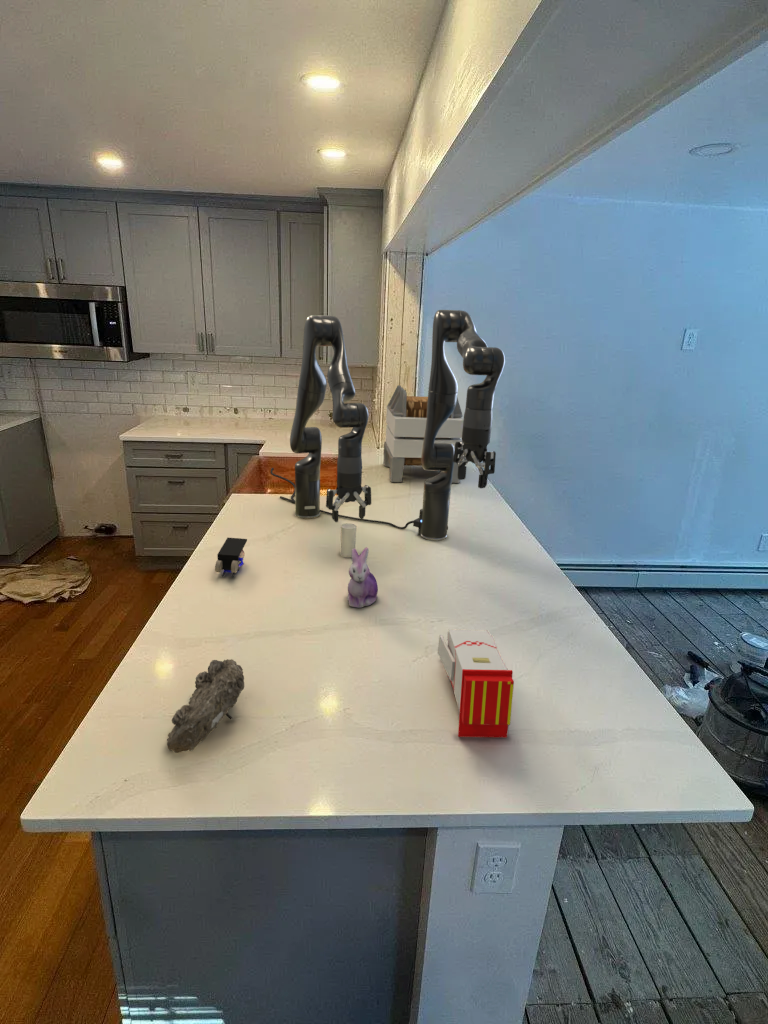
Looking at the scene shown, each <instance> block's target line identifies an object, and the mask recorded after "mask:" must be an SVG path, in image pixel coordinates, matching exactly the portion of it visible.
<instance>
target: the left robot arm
mask: <svg viewBox="0 0 768 1024" xmlns="http://www.w3.org/2000/svg"><path fill="white" fill-rule="evenodd" d="M302 343H303V345H302V357H301V359H302V360H301V365H300V366H301V367H300V373H299V379H298V385H297V395H296V403H295V404H296V406H295V412H294V417H293V421H292V425H291V430H290V435H289V446H290V449H291V452H292V453H294V454H307V456H305V457H304V458H302V459H300V460H298V461H296V462H295V464H294V482H292V480H290V479H288V478H286V477H284V476H281V475H278V474H275V473H274V470H275V469H274V467H271V468H270V475H272V476H273V477H276V478H279V479H281V480H283V481H286V482H287V483H289V484H291V485H292V486H293V493H291V496H290V499H291V500H294V501H295V503H294V509H295V510H294V511H295V512H294V515H295V517H297V518H300V519H305V520H306V519H315V518H318V517H320V516H321V512H320V510H321V465H322V446H323V438H322V437H323V436H322V432H321V429H320V428H318V427H316V426H307V424H308V422H309V420H310V419H311V418H312V417H313V415H314V414H316V412H318V410H319V409H320V408H321V406H322V405H323V403H324V401H325V399H326V392H327V385H328V386H329V391H330V393H331V399H332V415H331V416H332V421H333V423H334V425H335V426H336V427H338V428H340V429H345V428H346V429H347V428H351V430H350V431H349V432H348V433H346V434H342V435H340V436H339V437H338V441H337V448H338V449H337V462H336V488H335V489H331V488H327V489H326V498H325V507H326V508H327V509H328V510H329V511H331V513H332V515H331V519H332V520H333V521H334V522H335V523H338V522H339V517H338V514H339V509H340V508H341V506H342V505H344V503H345V504H346V503H350V502H351V503H354V502H357V503H358V505H359V506H358V518H361V519H365V518H364V517H365V516H366V507H368V506H371V505H372V487H371V486H369V485H368V484H365V485H363V484H362V482H363V477H362V476H363V457H362V454H363V453H362V448H363V447H362V445H363V439H364V437H365V432H366V428H367V425H368V422H369V410H368V409H369V408H367V406H366V404H364V403H362V402H350V401H352V400H353V399H354V398H355V396H356V389H355V386H354V383H353V379H352V377H351V373H350V370H349V365H348V358H347V351H346V344H345V338H344V331H343V327H342V324H341V320H340V319H339V318H338V317H337V316H335V315H329V314H328V315H326V314H325V315H323V314H322V315H321V314H310V315H308V316H307V317H306V319H305V321H304V327H303V339H302ZM317 347H332V350H333V356H332V359H331V362H330V364H329V367H328V369H327V376H325V374H324V371H323V370H322V368H321V366H320V365H319V361H318V360H317V356H316V355H317V354H316V352H317V351H316V350H317ZM326 378H327V379H326ZM306 426H307V427H306ZM362 485H363V486H362ZM362 493H364V500H363V499H362V497H361V494H362ZM335 496H336V497H335ZM334 497H335V499H334Z"/></svg>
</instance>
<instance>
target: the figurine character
mask: <svg viewBox="0 0 768 1024" xmlns="http://www.w3.org/2000/svg"><path fill="white" fill-rule="evenodd" d="M247 542H248V538H240V537H226V539H225V541H224V543H223V544H222V546H221V547H220V549H219V551H218V552H217V560H216V562H215V564H214V572H215V573H221V577H222V578H224V577H225V576H226V574H227V573H230V574H231V573H232V574H231V578H234V577H235V575H236V573H237V572H239V571H240V567H242V566H243V565H244V564H245V562H244V558H245V551H244V547H245V546H246V544H247Z"/></svg>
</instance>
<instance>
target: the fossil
mask: <svg viewBox="0 0 768 1024" xmlns="http://www.w3.org/2000/svg"><path fill="white" fill-rule="evenodd" d="M243 670H244V669H243V667H242V665H240V664H237V662H236V661H235V660H234V659H232V658H231V659H227V658H226V659H224V660H223V661H222V660H217V659H212V660H211V661H210V663H209V665H208V666H207V671H201V672H199V673H198V674H197V675H196V676H195V680H194V684H195V685H194V687H195V689H194V690H193V693H192V694H191V697H190V698H189V700H188V704H184V705H182V706H181V707H180V709H177V710H176V711H175V713H174V715H173V716H172V718H171V723H172V724H173V727H172V730H171V731H170V732H168V734H167V738H166V741H167V742H166V745H167V749H168V750H169V751H173V752H174V753H176V754H178V753H182V752H188V751H189V752H192V751H193V750H195V748H196V747H197V746H199V744H200V743H201V742H203V741H204V740H205V739H206V738H207V737H208V736H209V735H210V734H211V733H212V732H214V730H215V729H217V727H218V726H219V724H220V722H221V721H222V720H223V719H224V718H225V716H226V717H227V719H229V720H233V717H232V715H230V714H229V710H230V709H231V708H234V706H235V704H236V703H237V702H238V699H239V697H240V695H241V693H242V691H243V690H245V689H244V688H245V675H244V671H243Z"/></svg>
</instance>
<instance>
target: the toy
mask: <svg viewBox="0 0 768 1024" xmlns="http://www.w3.org/2000/svg"><path fill="white" fill-rule="evenodd" d="M446 640H447V643H446V641H445V639H444V636H443V635H442V634H439V637H438V646H437V656H438V657H439V659H440V661H441V663H442V666H443V668H444V670H445V672H446V674H447V677H448V679H449V681H450V684H451V687H452V690H453V693H454V697H455V701H456V705H457V708H458V711H459V714H458V715H459V716H458V730H457V731H458V732H457V737H458V738H508V731H509V726H510V725H511V717H512V707H513V697H514V696H513V695H514V684H515V680H514V679H513V673H514V671H513V670H512V669H508V667H507V665H506V662H505V661H504V659H503V658H502V655H501V653H500V651H499V649H498V647H497V643H496V639H495V637H494V635H493V634H491V632H490V631H489V629H467V628H466V629H465V628H463V629H461V628H460V629H459V628H448V630H447V639H446Z"/></svg>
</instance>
